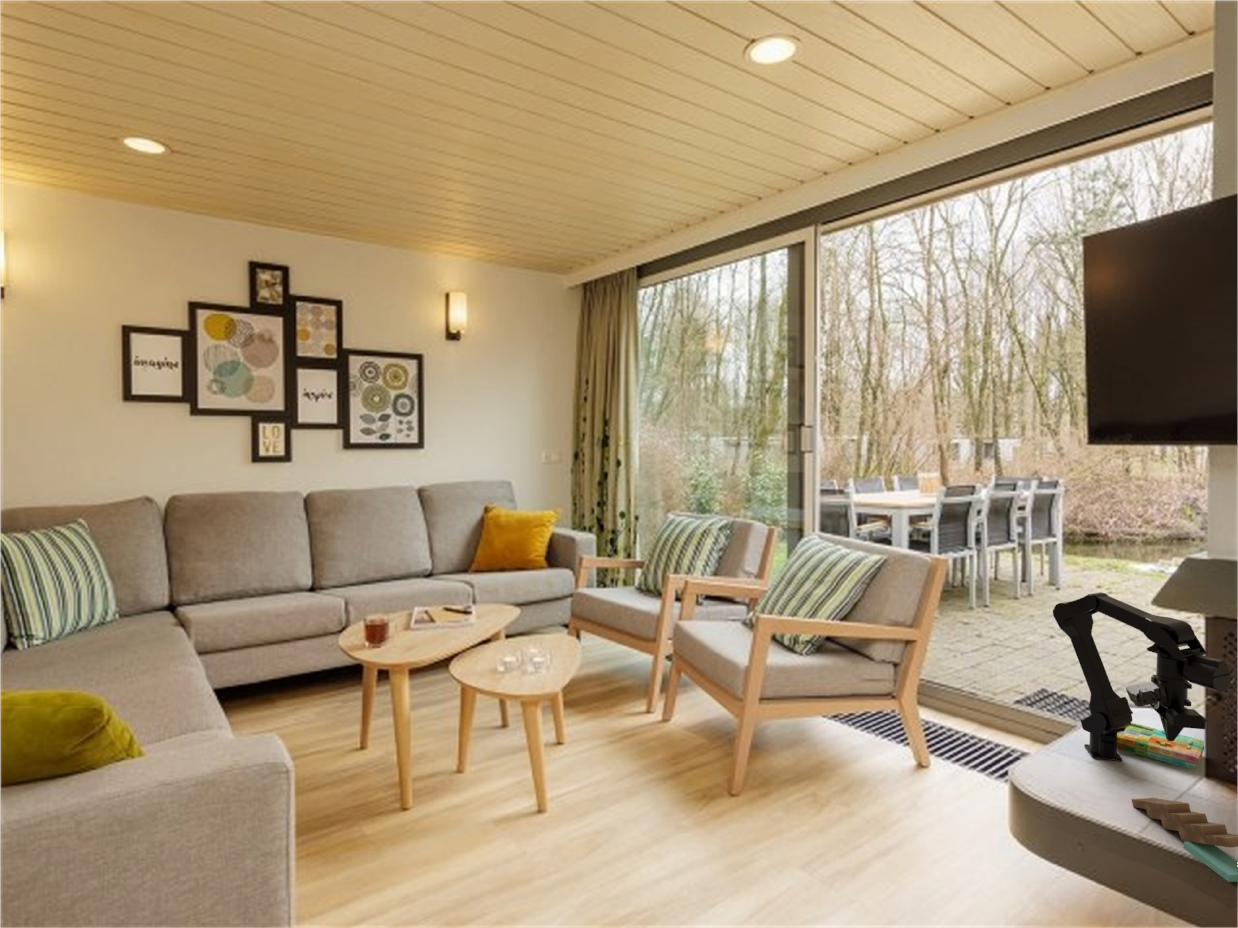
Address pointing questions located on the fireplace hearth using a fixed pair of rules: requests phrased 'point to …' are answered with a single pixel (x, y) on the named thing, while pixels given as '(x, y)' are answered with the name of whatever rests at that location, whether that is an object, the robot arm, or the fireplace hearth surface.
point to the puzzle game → (1161, 745)
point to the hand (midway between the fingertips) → (1170, 740)
